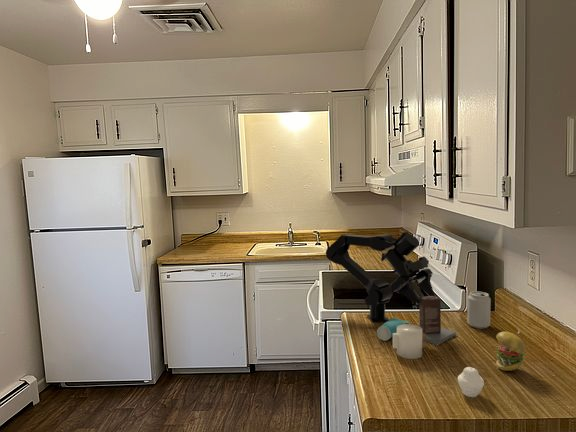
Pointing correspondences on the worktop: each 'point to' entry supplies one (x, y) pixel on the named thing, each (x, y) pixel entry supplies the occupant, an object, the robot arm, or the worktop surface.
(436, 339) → the coaster
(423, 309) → the box
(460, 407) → the worktop surface
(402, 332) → the white tapered cup
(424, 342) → the walnut block
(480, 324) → the can
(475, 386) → the muffin
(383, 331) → the tube
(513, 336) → the hamburger
